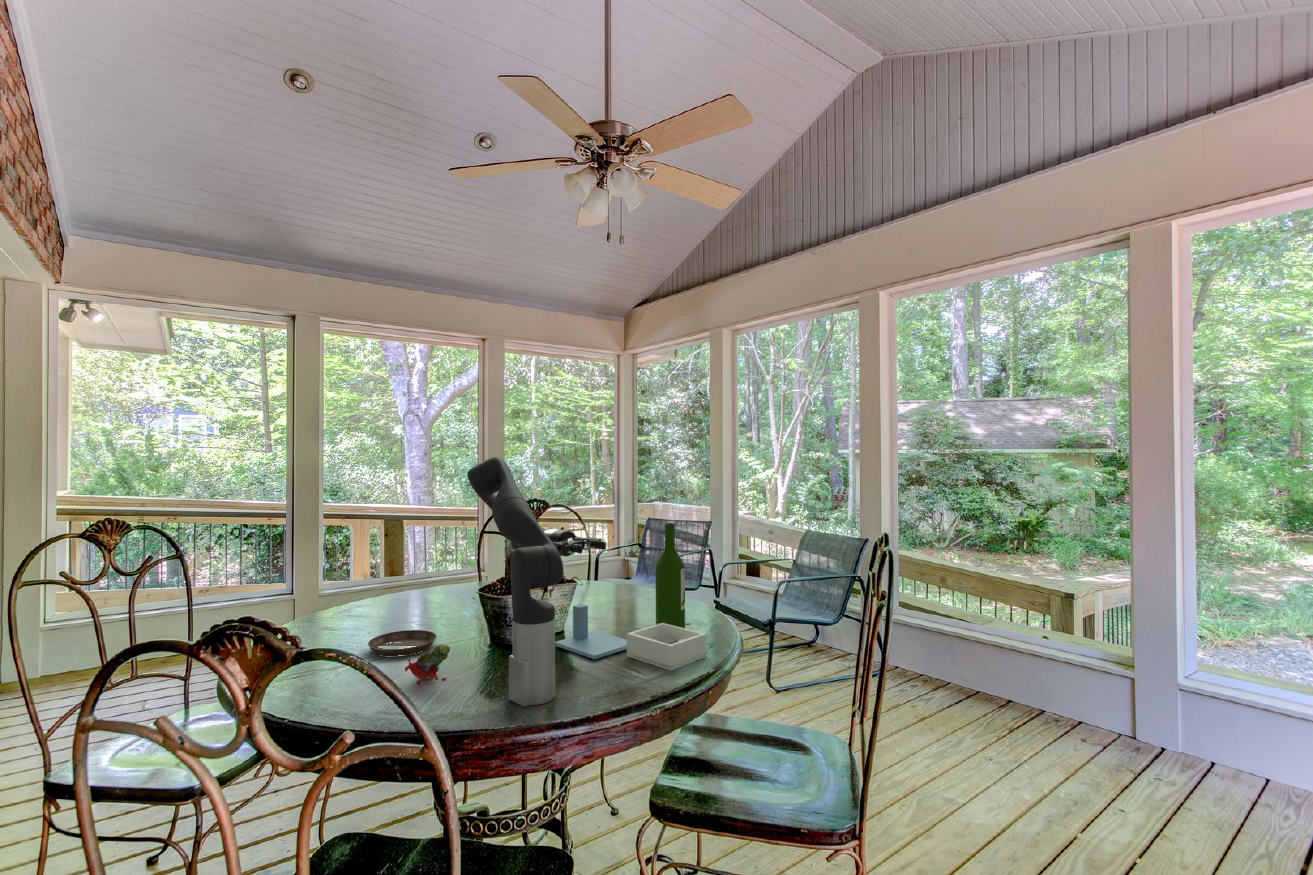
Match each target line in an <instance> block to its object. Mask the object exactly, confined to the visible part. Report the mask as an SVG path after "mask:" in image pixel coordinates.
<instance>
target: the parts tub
mask: <svg viewBox="0 0 1313 875" xmlns="http://www.w3.org/2000/svg"><path fill="white" fill-rule="evenodd" d="M626 640H627V649H626V657H628V658H631V659H634V660H638V661H641V662H643V663H647V664H649V663H650V664H649V665H652V664H653V666H655V665H656V667H660V668H661V669H665V670H668V671H673V670H677V669H679V668H682V667H684V666H687V665H688V664H691V663H695V662H697V661H699V659H700V660H702V659H704V658H706V657H707V656H708V654H707V652H708V651H707V646H708V645H707V633H704V632H700V631H697V630H692V629H688V628H686V627H685V628H681V627H677V626H673V625H669V624H665V623H660V624H657V625H656V624H654V625H651V626H647V627H644V628H641V629H638V630H634V631H629V632H628V633H626ZM696 660H697V661H696Z"/></svg>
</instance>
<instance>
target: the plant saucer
mask: <svg viewBox="0 0 1313 875" xmlns="http://www.w3.org/2000/svg"><path fill="white" fill-rule="evenodd" d="M436 639H437V634H436V633H435V632H432V631H429V630H424V629H423V630H421V629H409V630H399V631H392V632H388V633H384V634H380V635H377V636H375V637H372V638H371V639H370V640H369V641H368V642H367V645H368V647H369V649H370V650H371V651H372V652H373V653H374V654H375V655H376V656H379V655H382V656H381V657H383V656H398V655H409V656H411V655H410V654H414V653H417V654H419V653H418V652H420V653H422V652H421V651H423V652H425V651H427V650H428V649H430V647H431V646H432V645H433V643H434V642H435V641H436ZM389 642H392V643H391V644H390V643H389ZM394 642H401V643H394ZM386 643H388V644H386ZM378 646H416V647H411V648H404V649H383V648H379V647H378ZM426 649H427V650H426ZM424 650H425V651H424ZM414 655H415V654H414Z"/></svg>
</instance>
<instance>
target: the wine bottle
mask: <svg viewBox="0 0 1313 875" xmlns="http://www.w3.org/2000/svg"><path fill="white" fill-rule="evenodd" d="M675 525H676V524H674V523H665V524H664V550H663V551H662V553H661V555H660V557H659V558H658V559H657V561H656V564H655V625H657V624H660V623H665V624H669V625H673V626H677V627H681V628H685V629H686V573H685V572H686V570H685V568H686V567H685V562H684V561H683V559H682V558H681V556H680V554H679V553H678V552H677V550H676V534H675V533H676V532H675V528H676V527H675Z"/></svg>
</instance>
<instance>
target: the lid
mask: <svg viewBox="0 0 1313 875" xmlns="http://www.w3.org/2000/svg"><path fill="white" fill-rule="evenodd" d="M588 625H589V606H588V605H586V604H583V603H580V604H576V605H573V606H572V637H568V638H565V639H560V640H557V641H555V647H557V648H561V649H563V650H566V651H570V652H573V653H575V654H579V655H581V656H585V657H587V658H590V659H592V660H597V659H600V658H603V657H606V656H610V655H612V654H615V653H619V652H622V651H624V650H627V638H625V639H624V638H622V637H618V636H615V635H612V634H610V633H605V632H602V631H598V630H593V631H590V632H589V630H588V629H589V627H588Z"/></svg>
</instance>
